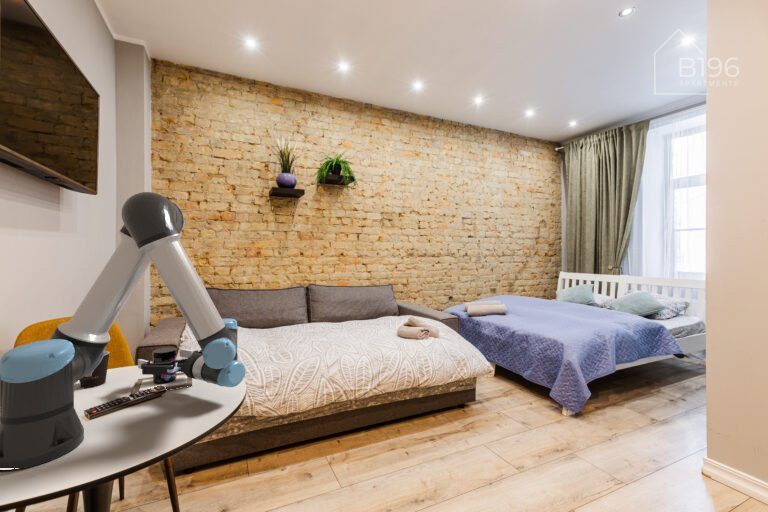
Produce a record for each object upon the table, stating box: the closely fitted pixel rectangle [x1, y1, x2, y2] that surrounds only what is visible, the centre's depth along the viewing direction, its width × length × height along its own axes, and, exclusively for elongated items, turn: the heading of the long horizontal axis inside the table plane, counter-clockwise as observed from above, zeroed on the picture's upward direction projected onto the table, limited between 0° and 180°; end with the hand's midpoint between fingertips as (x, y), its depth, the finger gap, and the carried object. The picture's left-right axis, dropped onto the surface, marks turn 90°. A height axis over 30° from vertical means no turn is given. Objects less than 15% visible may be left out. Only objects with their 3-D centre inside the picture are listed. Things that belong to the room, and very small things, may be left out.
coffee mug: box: [78, 350, 111, 389], centre depth 114 cm, size 12×9×10 cm
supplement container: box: [152, 346, 178, 384], centre depth 115 cm, size 7×7×10 cm
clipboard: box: [132, 372, 193, 394], centre depth 115 cm, size 14×16×2 cm
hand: (160, 357), depth 116 cm, fingers open, 13 cm apart
